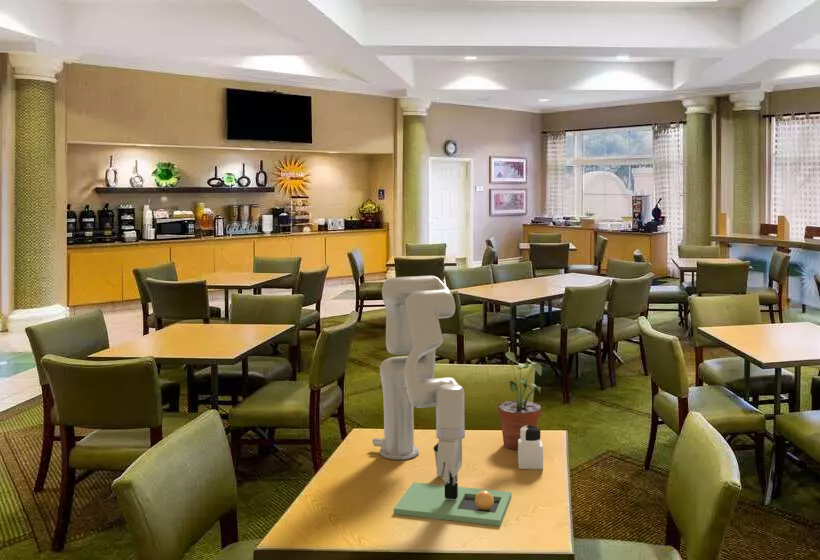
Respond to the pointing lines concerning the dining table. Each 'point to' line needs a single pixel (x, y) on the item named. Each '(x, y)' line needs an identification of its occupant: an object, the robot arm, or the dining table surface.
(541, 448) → the medicine bottle
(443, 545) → the dining table surface
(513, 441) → the potted plant
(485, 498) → the orange ball
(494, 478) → the dining table surface
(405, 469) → the dining table surface
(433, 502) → the mat
